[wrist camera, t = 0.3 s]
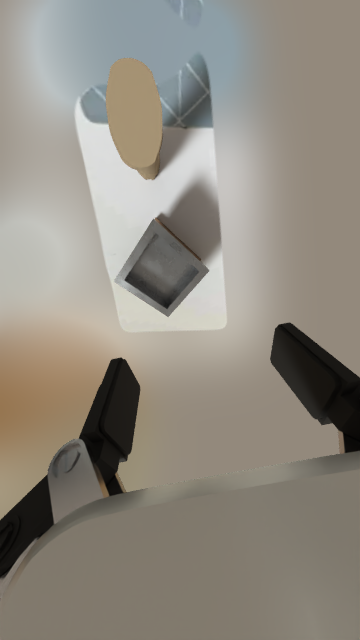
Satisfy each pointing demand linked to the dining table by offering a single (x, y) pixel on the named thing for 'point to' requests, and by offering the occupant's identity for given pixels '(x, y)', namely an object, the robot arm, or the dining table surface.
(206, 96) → the dining table surface
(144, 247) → the grey open box
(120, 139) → the handle
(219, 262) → the dining table surface
